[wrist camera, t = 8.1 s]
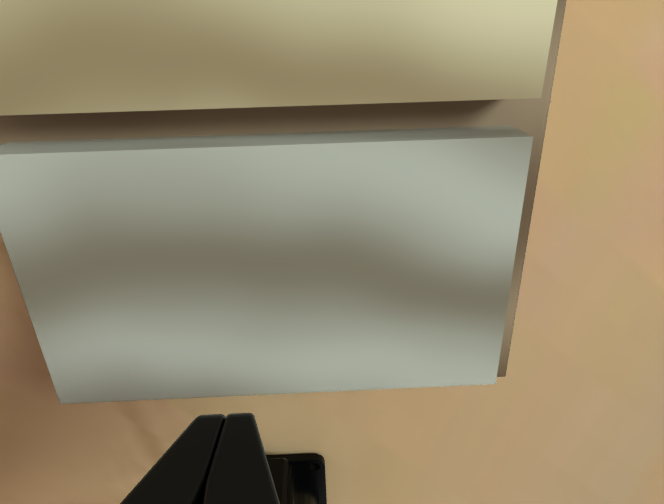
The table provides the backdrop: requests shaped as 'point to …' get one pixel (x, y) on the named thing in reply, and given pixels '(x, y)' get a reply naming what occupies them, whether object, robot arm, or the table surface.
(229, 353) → the floor base
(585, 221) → the table surface
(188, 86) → the pale yellow square slab
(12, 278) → the table surface
